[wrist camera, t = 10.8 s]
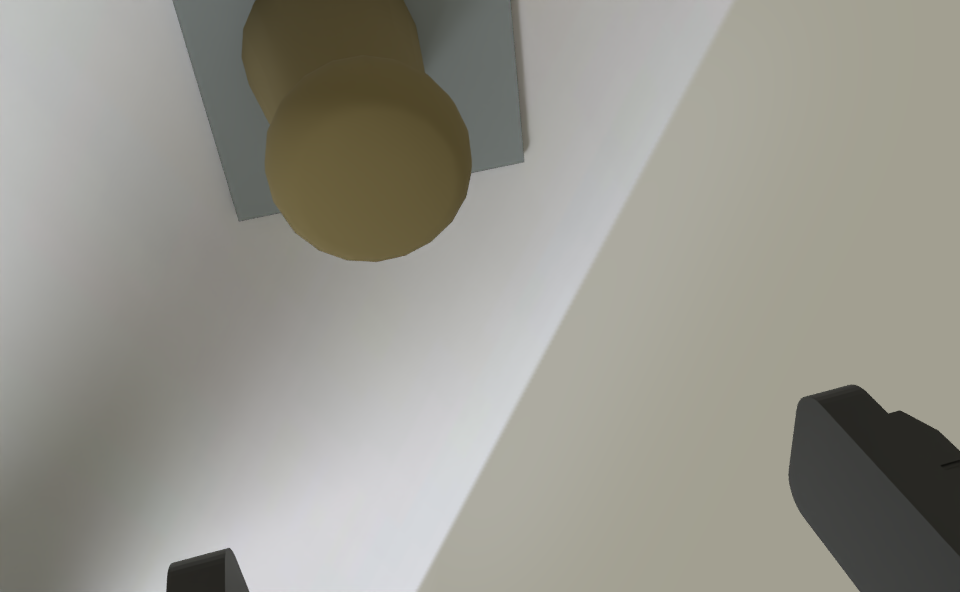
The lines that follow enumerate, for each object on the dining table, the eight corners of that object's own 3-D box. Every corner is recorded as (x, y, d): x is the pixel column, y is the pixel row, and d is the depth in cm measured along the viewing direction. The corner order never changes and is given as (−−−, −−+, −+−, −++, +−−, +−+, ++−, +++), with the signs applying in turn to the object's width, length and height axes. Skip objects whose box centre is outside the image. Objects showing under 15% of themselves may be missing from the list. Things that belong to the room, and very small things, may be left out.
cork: (387, -65, 28) (465, 26, 19) (440, 104, 31) (527, 249, 22) (209, -3, 28) (202, 120, 19) (283, 161, 31) (307, 331, 22)
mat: (521, 157, 34) (524, 162, 33) (238, 216, 32) (239, 221, 32) (494, -156, 28) (497, -155, 27) (143, -103, 26) (142, -101, 26)
